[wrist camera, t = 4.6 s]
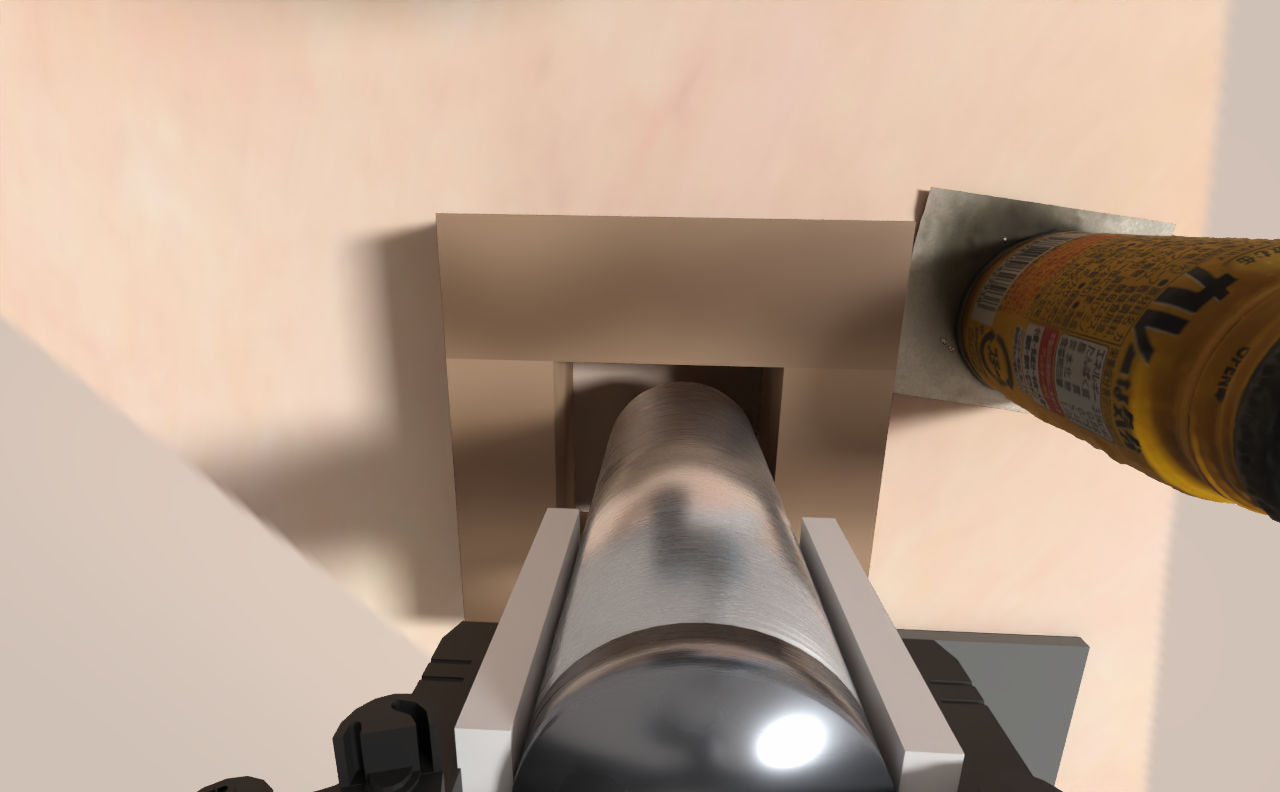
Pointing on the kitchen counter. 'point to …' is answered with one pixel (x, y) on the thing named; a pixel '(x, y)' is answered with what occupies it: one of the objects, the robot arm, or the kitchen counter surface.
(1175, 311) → the condiment
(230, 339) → the kitchen counter surface
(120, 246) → the kitchen counter surface
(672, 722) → the plug
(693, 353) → the housing
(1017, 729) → the mat
